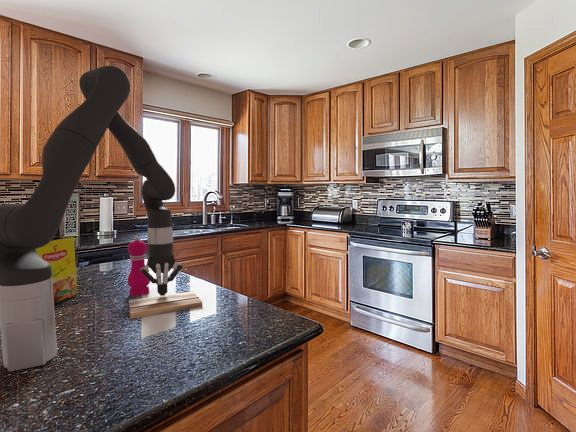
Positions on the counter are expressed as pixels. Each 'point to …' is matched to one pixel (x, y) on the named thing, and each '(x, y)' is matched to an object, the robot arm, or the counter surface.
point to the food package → (61, 267)
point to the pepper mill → (137, 268)
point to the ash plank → (161, 299)
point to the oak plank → (164, 307)
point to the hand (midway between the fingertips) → (162, 294)
